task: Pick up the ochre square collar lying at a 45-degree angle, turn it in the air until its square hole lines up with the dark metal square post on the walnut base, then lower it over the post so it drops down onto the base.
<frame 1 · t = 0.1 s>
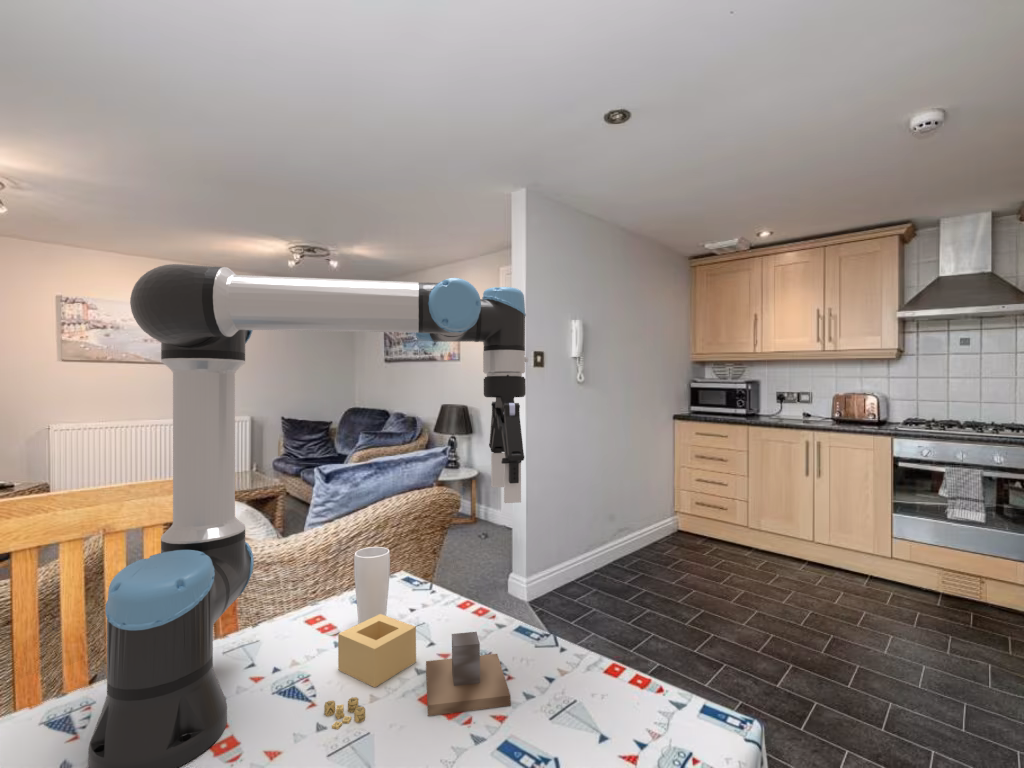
hand: (505, 494, 90), 28 cm above the table, tool pointing down, fingers open, 13 cm apart
drinking glass: (372, 629, 99), on the table
post base: (465, 686, 79), on the table
dice set: (346, 721, 72), on the table
collar: (377, 665, 85), on the table
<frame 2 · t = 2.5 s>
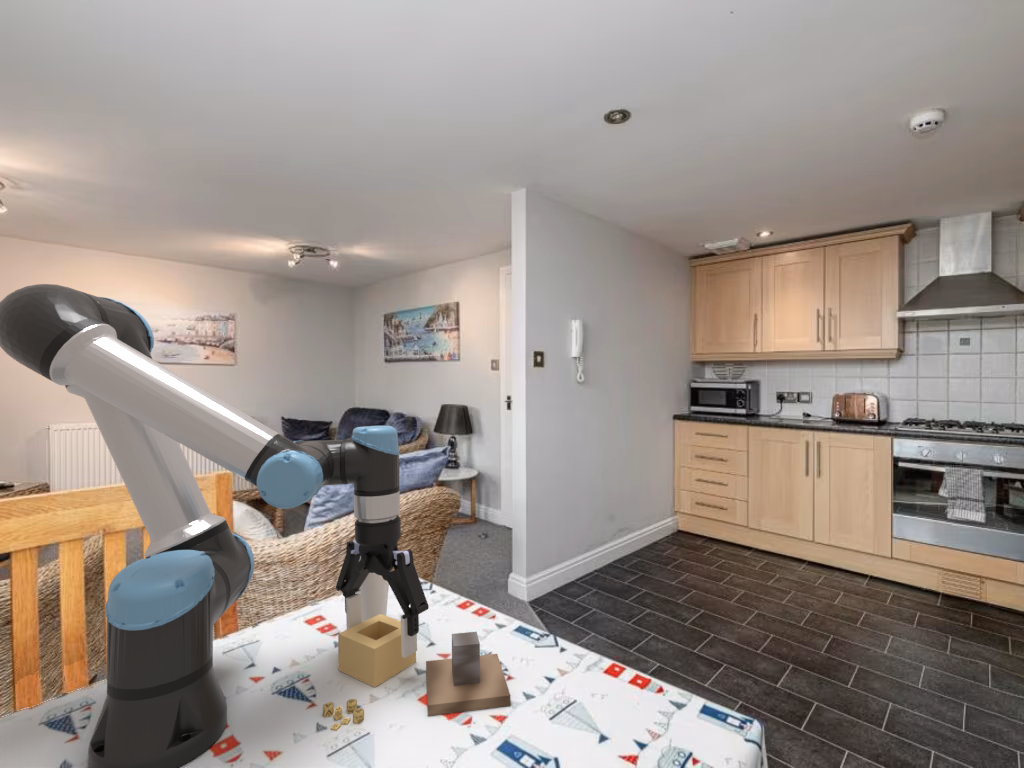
hand: (380, 643, 85), 4 cm above the table, tool pointing down, fingers open, 13 cm apart
nothing on the table moved.
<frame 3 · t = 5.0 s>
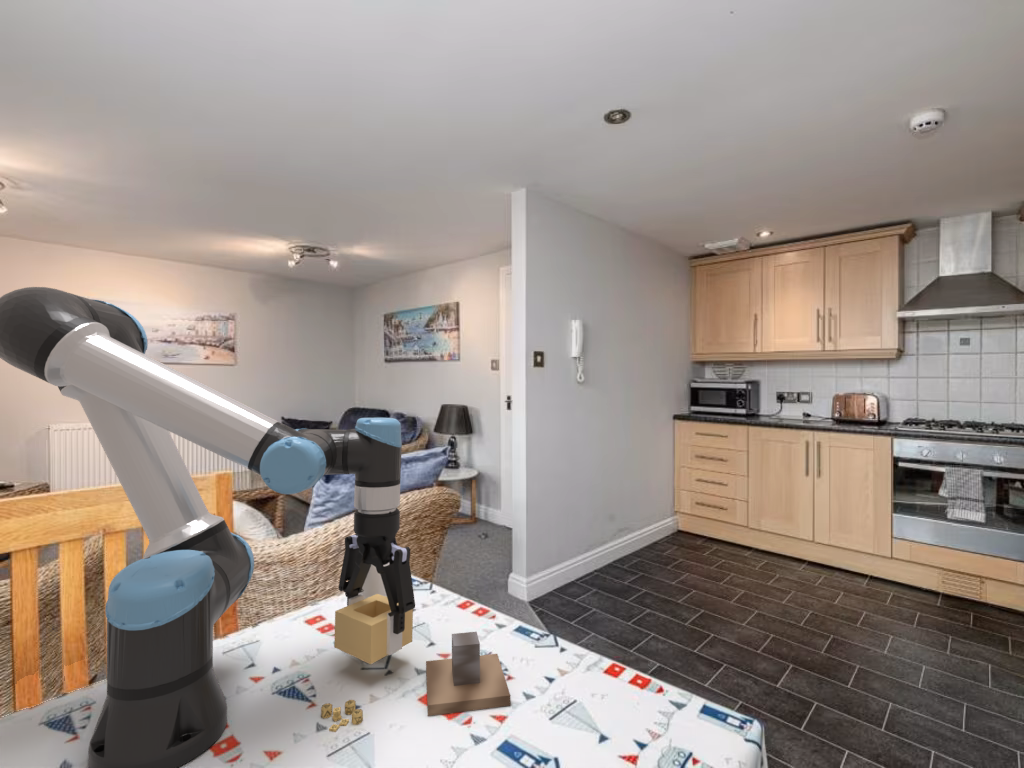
hand: (374, 642, 85), 4 cm above the table, tool pointing down, fingers closed on collar, 9 cm apart
collar: (373, 644, 85), point 4 cm above the table, touching gripper
everything else where it was.
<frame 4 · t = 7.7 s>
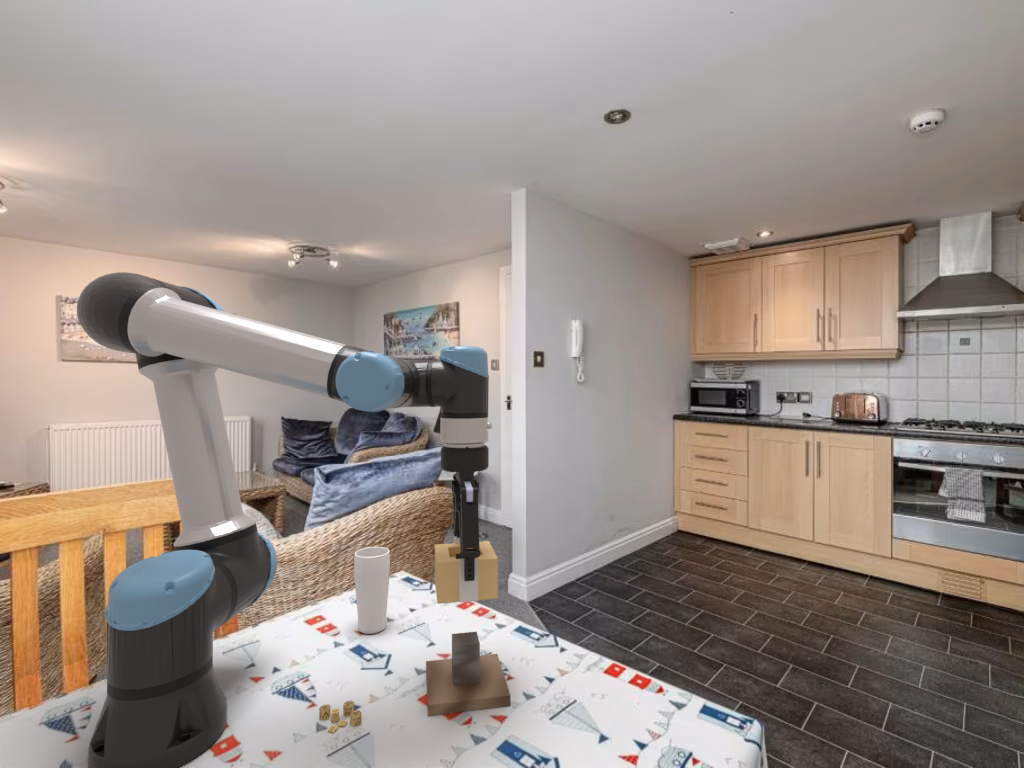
hand: (465, 587, 79), 15 cm above the table, tool pointing down, fingers closed on collar, 9 cm apart
collar: (465, 589, 79), point 15 cm above the table, touching gripper
everything else where it was.
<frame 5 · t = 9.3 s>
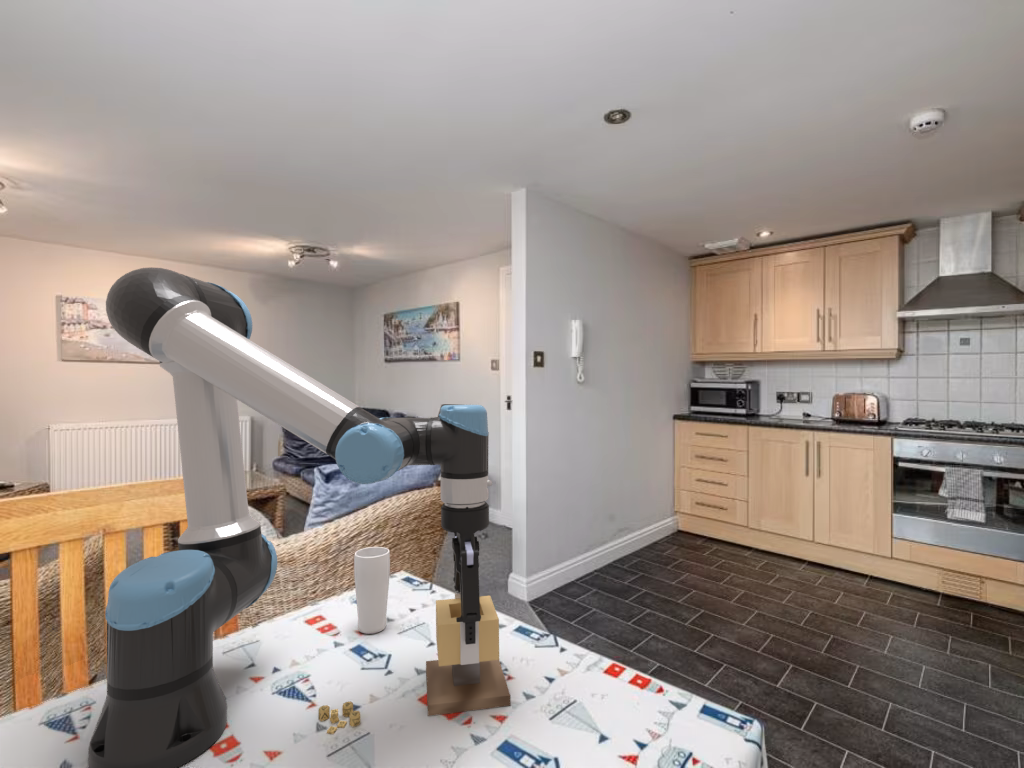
hand: (466, 646, 79), 6 cm above the table, tool pointing down, fingers closed on collar, 9 cm apart
collar: (466, 647, 79), point 6 cm above the table, touching gripper
when the fingers open (3 cm above the table, at t = 10.7 s): collar drops 2 cm, resting on post base.
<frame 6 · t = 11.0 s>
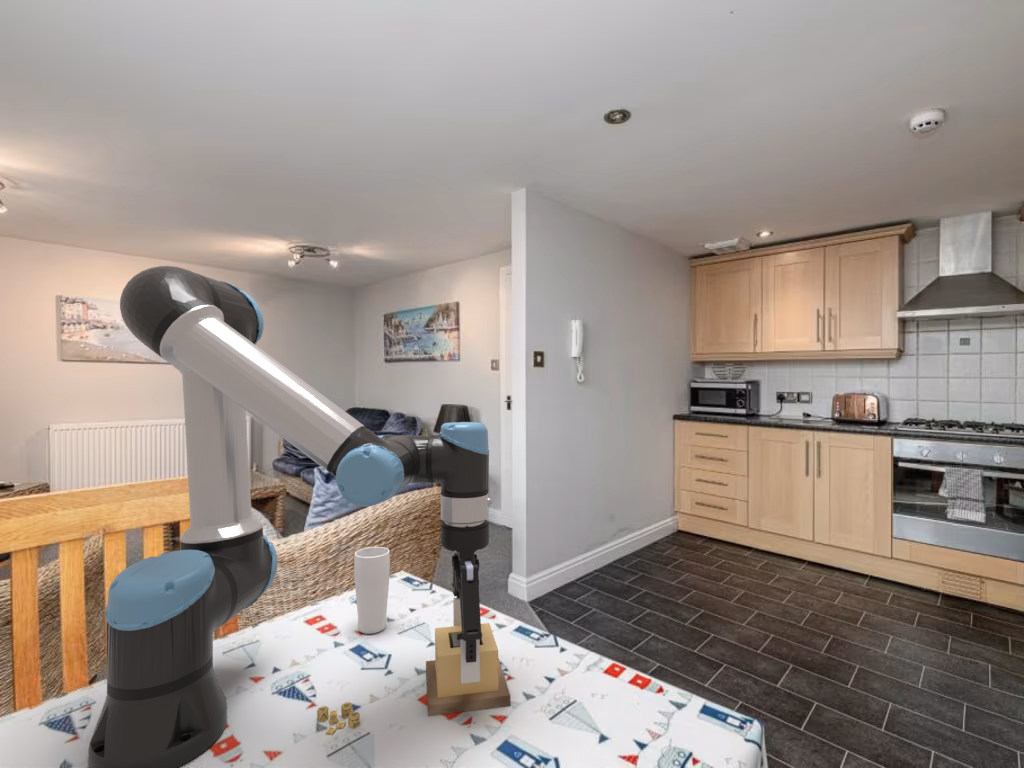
hand: (465, 657, 79), 5 cm above the table, tool pointing down, fingers open, 13 cm apart
collar: (465, 677, 79), point 1 cm above the table, touching post base
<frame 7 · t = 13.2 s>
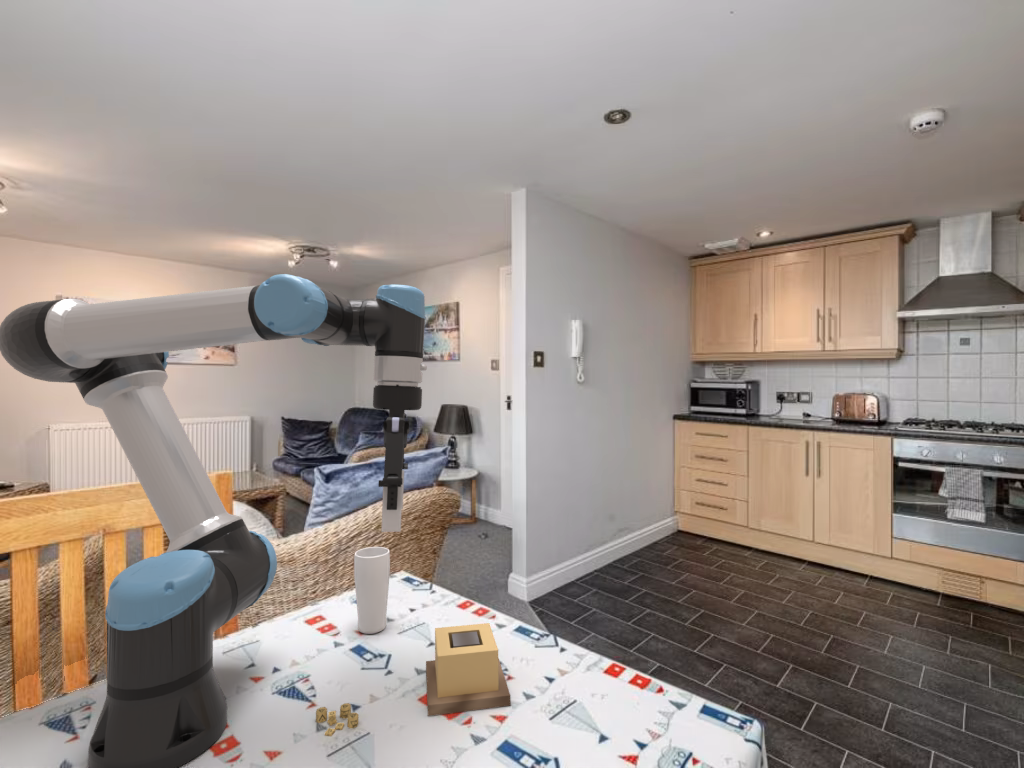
hand: (393, 519, 80), 26 cm above the table, tool pointing down, fingers open, 13 cm apart
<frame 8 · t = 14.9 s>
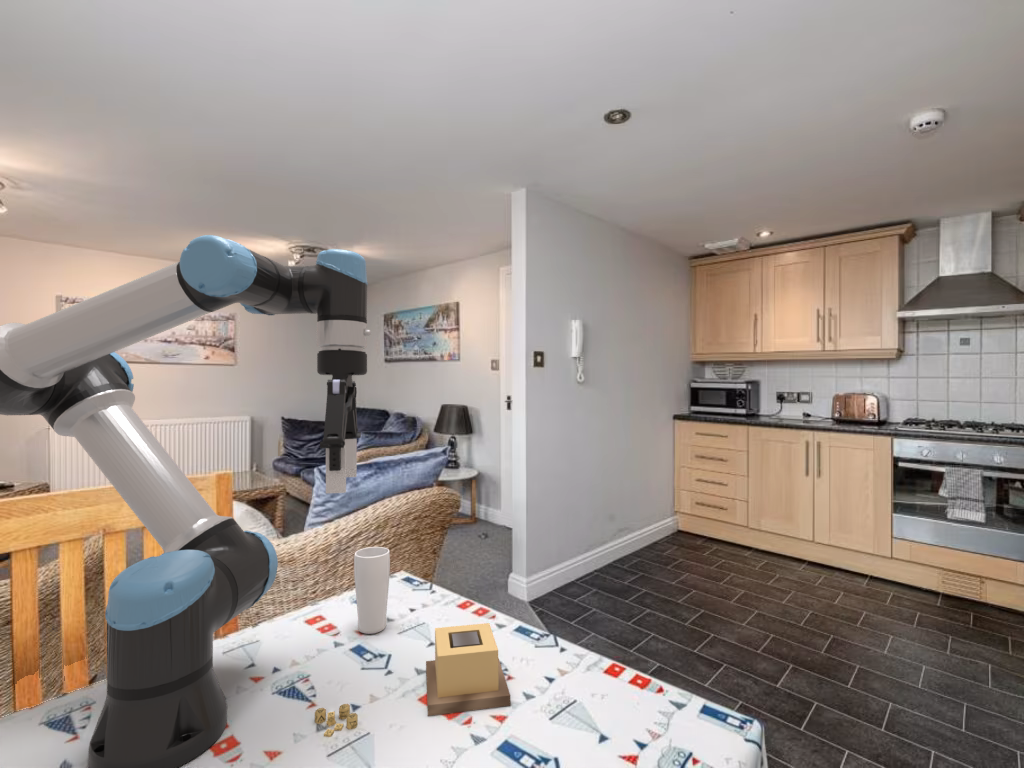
hand: (342, 484, 80), 32 cm above the table, tool pointing down, fingers open, 13 cm apart
at the end: collar 0.1 cm off-centre on the post base, point 1.5 cm above the post base's base; collar tilted 0°; the gripper is holding nothing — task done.
